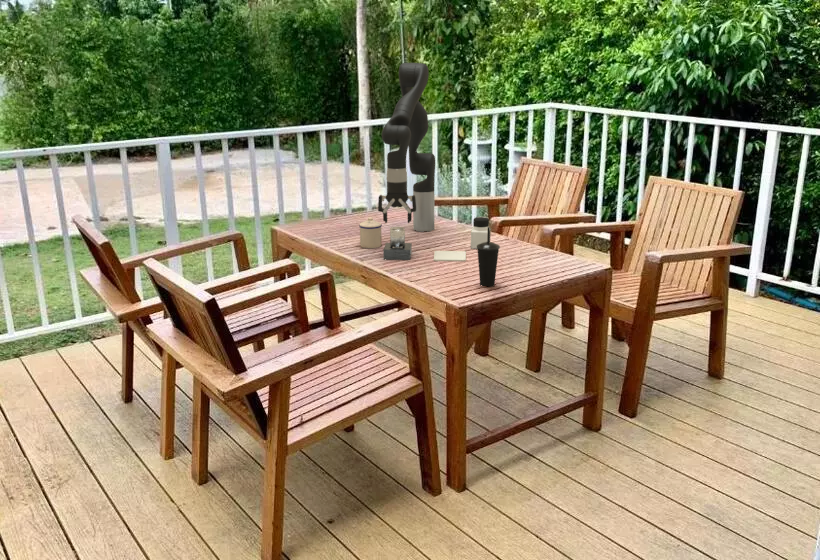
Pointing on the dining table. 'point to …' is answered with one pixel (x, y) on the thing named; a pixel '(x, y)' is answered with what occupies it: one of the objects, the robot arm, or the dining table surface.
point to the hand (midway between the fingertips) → (397, 222)
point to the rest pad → (450, 256)
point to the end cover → (397, 237)
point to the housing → (397, 252)
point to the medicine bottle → (479, 231)
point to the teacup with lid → (370, 234)
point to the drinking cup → (487, 261)
